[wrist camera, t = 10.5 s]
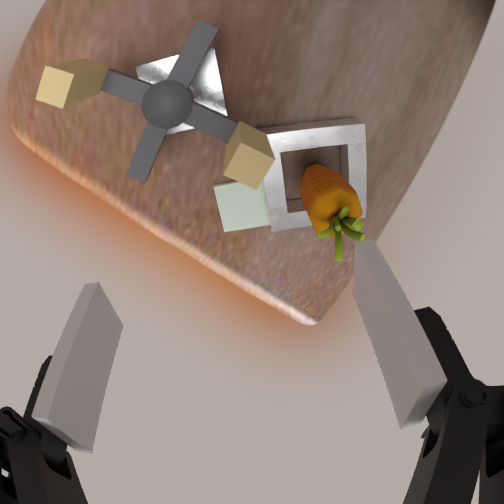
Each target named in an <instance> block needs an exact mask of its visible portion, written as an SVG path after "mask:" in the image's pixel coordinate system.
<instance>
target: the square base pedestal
mask: <svg viewBox="0 0 504 504" xmlns="http://www.w3.org/2000/svg"><path fill="white" fill-rule="evenodd" d="M178 56H179V55H177V56H173V57H169V58H165V59H162V60H158V61H154V62H151V63H148V64H144V65H141V66H138V67H136V71H137V76H138V79H141V80H143V81H146V82H149V83H151V84H155V83H157V82H160V81H162V80H166V79H167V78H168V76H169V74H170V72H171V69H172V67H173V65H174V63H175V62H176V60H177V58H178ZM189 88H190V90H191V91H192V94H193V97H194V101H195V102H197V103H199V104H201V105H204V106H206V107H208V108H210V109H213V110H215V111H217V112H219V113H221V114H223V115H225V116H228V114H227V109H226V104H225V99H224V94H223V89H222V84H221V79H220V74H219V68H218V63H217V58H216V53H215V48H214V47H212V48H209V50H208V52H207V54H206V55H205V57H204V59H203V61H202V63H201V65H200V67H199V68H198V70H197V72H196V74H195V76H194V78H193V80H192V82H191V84H190V86H189ZM193 128H194V127H191V126H189V125H187V124H184V123H182V124H181V125H179V126H177V127H174V128H171V129H169V130H168V132H167V134H171V133H176V132H180V131H184V130H189V129H193ZM167 134H166V135H167Z"/></svg>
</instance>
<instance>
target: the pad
mask: <svg viewBox="0 0 504 504" xmlns="http://www.w3.org/2000/svg"><path fill="white" fill-rule="evenodd" d="M214 191H215V195H216V199H217V203H218V207H219V212H220V216H221V220H222V224H223V228H224V232H229V231H235V230H241V229H247V228H253V227H259V226H265V225H270V219H269V213H268V207H267V200H266V194H265V188H264V181H262V182H261V184H260V186H259V187H258V189H257V190H255V189H253V188H250V187H248V186H246V185H244V184H242V183H240V182H238V181H231V182H226V183H220V184H215V185H214Z"/></svg>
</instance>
